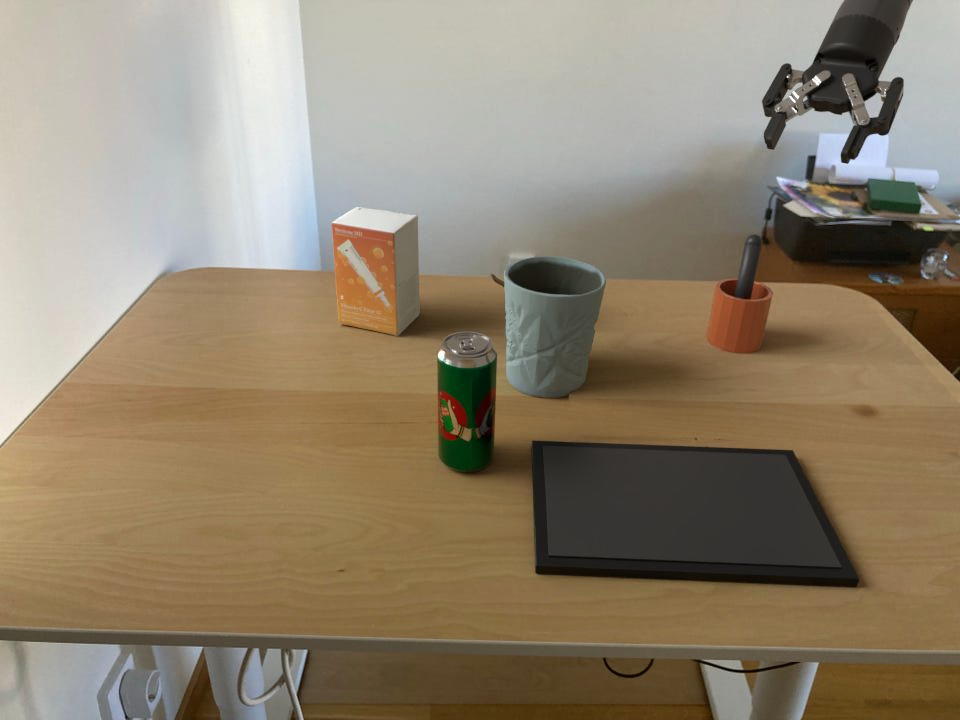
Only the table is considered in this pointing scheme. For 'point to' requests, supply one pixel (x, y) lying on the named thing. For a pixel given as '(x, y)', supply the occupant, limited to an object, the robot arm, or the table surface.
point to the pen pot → (738, 317)
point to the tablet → (681, 515)
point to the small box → (376, 269)
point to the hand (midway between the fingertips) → (805, 152)
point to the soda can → (466, 401)
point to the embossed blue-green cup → (550, 323)
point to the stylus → (748, 266)
